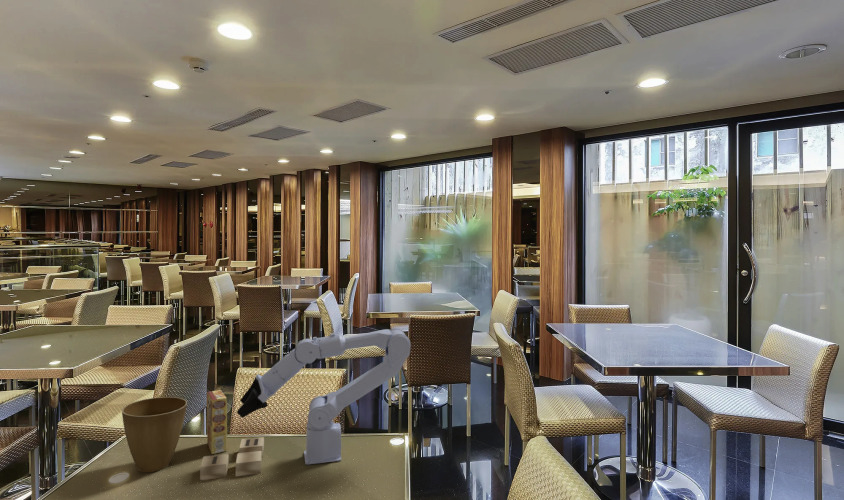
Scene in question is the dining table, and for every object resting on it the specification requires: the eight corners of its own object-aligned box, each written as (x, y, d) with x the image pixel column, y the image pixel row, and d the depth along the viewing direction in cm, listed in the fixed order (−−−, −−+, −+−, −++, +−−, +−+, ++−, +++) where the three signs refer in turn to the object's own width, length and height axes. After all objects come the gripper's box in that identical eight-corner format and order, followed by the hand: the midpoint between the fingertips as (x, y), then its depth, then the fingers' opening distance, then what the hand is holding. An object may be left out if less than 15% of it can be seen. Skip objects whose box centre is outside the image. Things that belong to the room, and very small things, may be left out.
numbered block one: (228, 467, 124) (228, 453, 124) (226, 477, 118) (226, 463, 118) (203, 470, 122) (203, 456, 122) (200, 481, 116) (200, 466, 116)
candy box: (227, 451, 132) (228, 397, 132) (211, 455, 130) (211, 400, 130) (221, 440, 140) (221, 389, 139) (205, 443, 137) (206, 391, 137)
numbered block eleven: (263, 449, 135) (264, 436, 135) (262, 458, 129) (262, 445, 129) (241, 451, 133) (241, 438, 133) (239, 460, 127) (239, 447, 127)
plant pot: (114, 484, 113) (115, 418, 113) (127, 458, 127) (128, 399, 127) (183, 474, 119) (184, 411, 119) (188, 450, 133) (189, 394, 132)
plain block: (261, 463, 126) (261, 450, 126) (260, 474, 120) (260, 460, 120) (237, 466, 124) (237, 453, 124) (235, 477, 118) (235, 463, 118)
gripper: (272, 355, 133) (234, 388, 131) (269, 372, 119) (226, 410, 118) (289, 372, 135) (251, 405, 133) (288, 391, 121) (246, 428, 119)
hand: (241, 408), depth 125 cm, fingers open, 7 cm apart
